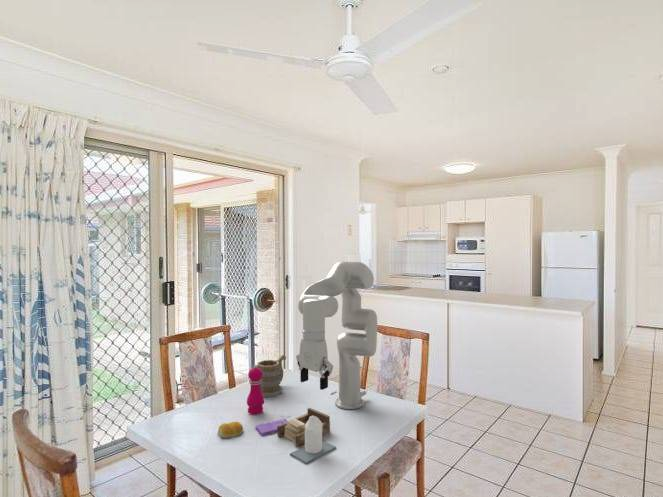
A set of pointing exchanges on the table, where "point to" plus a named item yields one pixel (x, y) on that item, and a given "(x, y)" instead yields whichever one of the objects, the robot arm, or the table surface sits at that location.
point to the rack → (304, 419)
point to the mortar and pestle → (271, 376)
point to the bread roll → (230, 429)
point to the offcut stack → (294, 429)
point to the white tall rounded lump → (313, 435)
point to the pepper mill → (255, 392)
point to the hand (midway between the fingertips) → (314, 384)
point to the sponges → (269, 427)
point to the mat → (309, 457)
